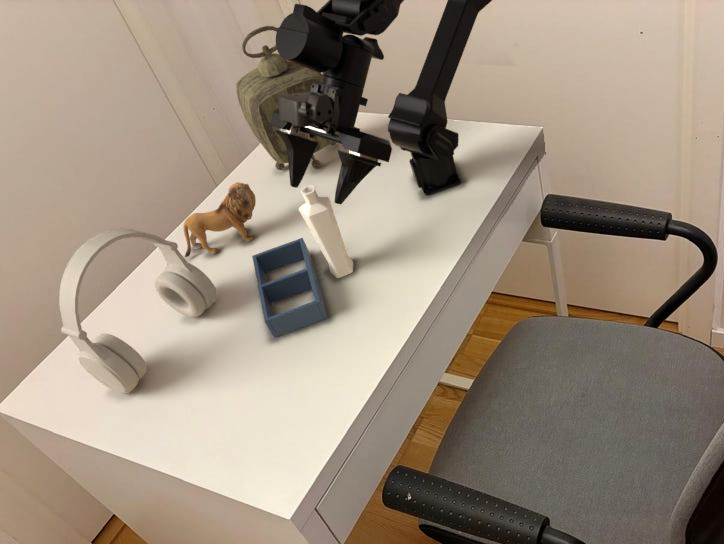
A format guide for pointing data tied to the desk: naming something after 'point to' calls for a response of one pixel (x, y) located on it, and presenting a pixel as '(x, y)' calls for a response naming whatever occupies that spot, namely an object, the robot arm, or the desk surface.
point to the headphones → (107, 352)
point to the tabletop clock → (273, 97)
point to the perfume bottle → (325, 231)
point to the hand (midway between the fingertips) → (315, 195)
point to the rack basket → (288, 288)
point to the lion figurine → (222, 218)
